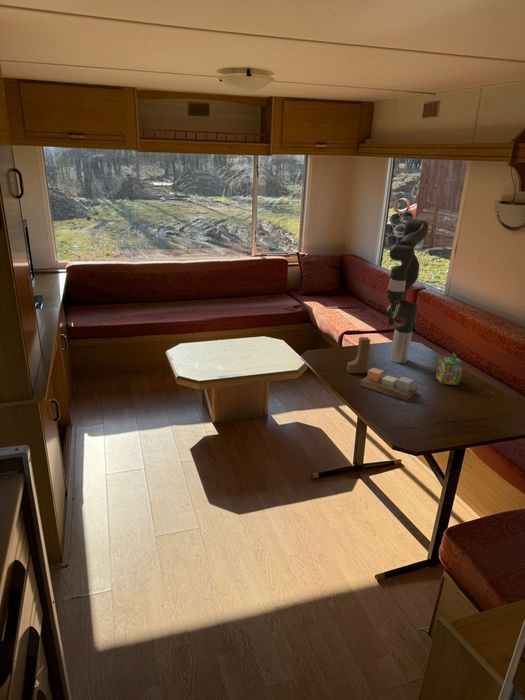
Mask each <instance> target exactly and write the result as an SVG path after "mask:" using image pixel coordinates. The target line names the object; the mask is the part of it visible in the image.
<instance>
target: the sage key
mask: <svg viewBox="0 0 525 700" xmlns="http://www.w3.org/2000/svg"><path fill="white" fill-rule="evenodd" d="M398 379H399V378H397V377H393V376H392V375H391V376H390V375H385V376H384V378H382V382H381V384H383V385H386V386H389V387H394V386H396V385H397V380H398Z"/></svg>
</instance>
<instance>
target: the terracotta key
mask: <svg viewBox="0 0 525 700" xmlns="http://www.w3.org/2000/svg"><path fill="white" fill-rule="evenodd" d="M383 376H384V369H379V368H376V367H372V368H370V369H368V371H367V376H366V377H367V379H368V380H371V381H374V382H377V383H378V382H380V381H381V380H382V378H383Z"/></svg>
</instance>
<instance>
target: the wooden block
mask: <svg viewBox="0 0 525 700" xmlns="http://www.w3.org/2000/svg"><path fill="white" fill-rule="evenodd" d="M357 344H358V345H357V353H356V357H355V358H354V360H352V361H347V366H346V371H347V372H348V374H366V373H367V367H368V366H367V365H368V359H369V353H370V344H371V339H370V338H369V337H367V336H366V337H364V336H363V337H362V336H361V337H360V336H359V339H358V343H357Z"/></svg>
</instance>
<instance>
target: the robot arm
mask: <svg viewBox="0 0 525 700" xmlns="http://www.w3.org/2000/svg"><path fill="white" fill-rule="evenodd" d="M428 233H429V223H428V221H427V220H424V219H414V218H413V219H407V220H406V221H405V223H404V230H403V237H402V238H401V239H400V241H397V242H396V243H395V244H393V245H392V246H391V247H390V249H389V257H390V259H391V260H393V261H396V262H397V261H398V262H401V263H400V265H394V266H392V267H391V270H390V276H389V282H388V286H387V294H386V298H387V300H389V302H388V305H387V307H385V314H386V317H388V323H387V324H388V326H394V331H393V338H392V345H391V349H390V350H391V351H390V357H389V360H390V361H392V362H393V363H396V364H397V363H398V364H406V363H408V360H409V359H408V358H409V353H410V346H411V342H412V335H413V330H414V328H415V324H416V317H417V315H418V304H417V303H416V302H413V301H409V300H406V297H407V293H408V291H409V290H410V289H411V288H412V286H413V285H414V284H415V283H416V282H417V280H418V278H419V274H420V262H419V260H418V258H417V255H416V254H415V248H416V245H418V244H419V243H420V242H422V241H424V239H425V238H426V237H427V235H428ZM396 317H398V318H402V319H404V320H405V321H404V322H399V323H398V322H397V323H395V320H396Z"/></svg>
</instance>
